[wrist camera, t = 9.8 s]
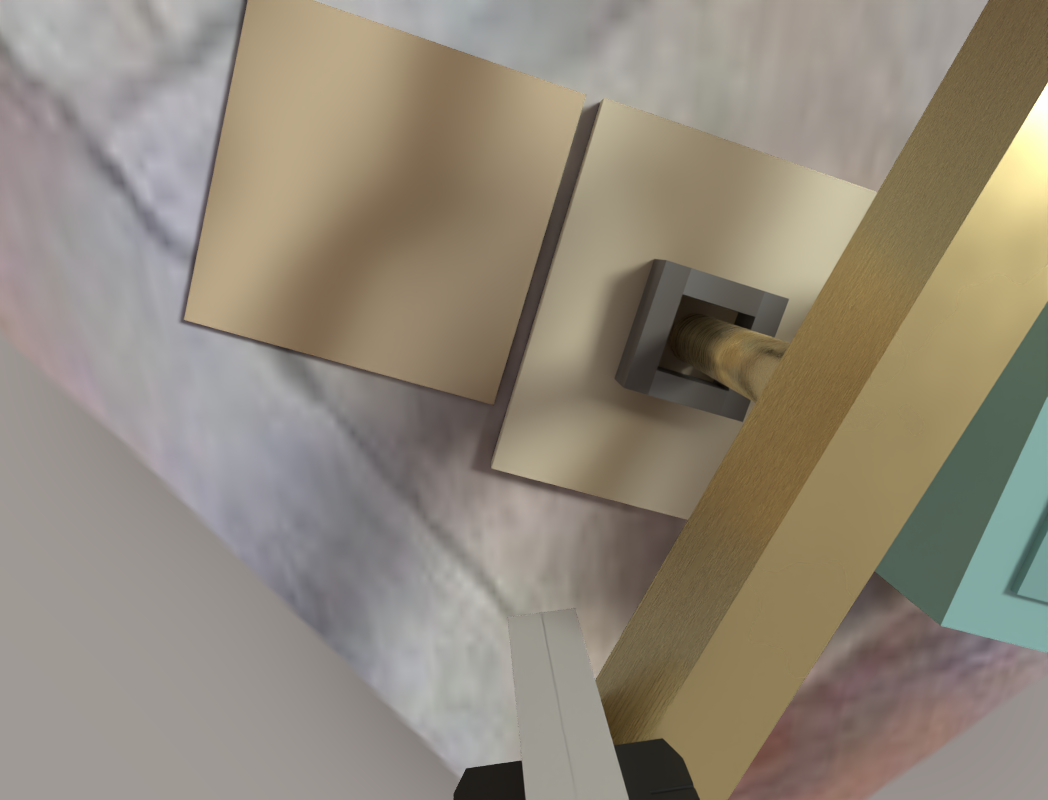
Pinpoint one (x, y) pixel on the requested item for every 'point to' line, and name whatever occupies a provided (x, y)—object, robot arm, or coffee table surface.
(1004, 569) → the cover
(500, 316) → the pad
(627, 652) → the t key
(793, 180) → the housing
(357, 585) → the coffee table surface
